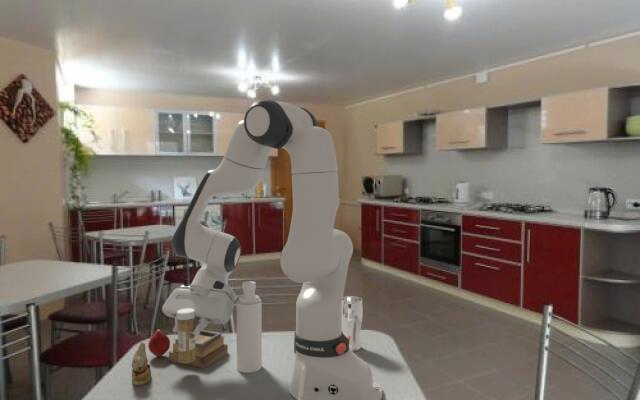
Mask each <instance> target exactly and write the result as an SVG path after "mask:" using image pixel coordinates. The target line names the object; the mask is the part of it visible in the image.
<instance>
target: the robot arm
mask: <svg viewBox="0 0 640 400" xmlns="http://www.w3.org/2000/svg"><path fill="white" fill-rule="evenodd" d="M318 123H319V122H318V120H317V118H316V117H315V115H314V114H312V113H311V112H310V111H309V110H308V109H306V108H304V107H300V106H299V107H298V106H297V105H293V104H291V103H289V102H285V101H284V102H283V101H275V100H271V99H264V100H263V99H262V100H258V101H255V102H253V103H252V104H251V105H250V106H249V107H247V110H246V112H245V115H244V118H243V120H240V121H238V123H236V126H235V128H234V129H233V131H232V133H231V135H230V138H229V140H228V142H227V146H226V148H225V151H224V154H223V157H222V161H221V162H220V164H219V165H218V166H217V167H216V168H215V169H210V170H208V171H207V172H206V174H204V176H203V178H202V179H201V181H200V183H199V185H198V186H197V189H196V190H195V192H194V194H193V196H192V198H191V201H190V203H189V205H188V206H187V208H186V211H185V212H184V215H183V217H182V219H181V221H180V222H179V225H178V226H177V227H176V229H175V231H174V233H173V235H172V237H171V243H170V244H171V247H172V249H173V251H174V253H175V254H176V256H177V257H181V258H184V259H189V260H194V261H196V262H199V263H202V265H201V267H200V268H199V269H198V270H197V272H196V274H195V276H194V277H193V280H192V281H191V284H190V285H188V286H186V285H180V286H178V287H175V288H174V290H173V291H172V292H171V293H170V295H169V296H168V298H167V299H166V301H165V302H164V304H163V305H162V313H163V314H164V315H166V317H168V318H174V327H173V328H172V332H173V333H174V334H175V335H176V334H177V335H178V320H177V311H178V310H181V309H186V308H191V309H194V310H195V317H194V322H195V321H196V322H199V323H198V324H197V326H195V328H194V327H193V328H192V331H191V332H190V334H191V335H192V336H195V337H198V335H199V333H200V331H202V330H205V328H206V327H207V326H208V325H209V323H211V324H217V325H218V324H219V325H226V324H227V323H228V322H229V321H230V320H231V319H230V318H231V316H232V315H233V311H234V308H235V303H234V302H235V301H237V299H238V298H237V295H236V293H235V291H234V290H233V288H232V287H231V286H229V284H228V283H227V282H228V281H227V280H228V278H229V276H230V275H232V272H233V271H234V270H235V269H236V267H237V265H238V263H239V260H240V258H241V255H242V250H243V249H242V246H241V244H240V241H239V239H238V238H237V237H236V236H234V235H231V234H230V233H226V232H223V231H219V230H218V229H214V228H211V227H208V226H206V225H203V224H202V223H201V220H202V217H203V215H204V213H205V211H206V209H207V207H208V205H209V203H210V201H211V200H212V198H213V197H216V196H223V195H224V196H225V195H241V194H247V193H248V192H251V191H253V190H254V189H255V188H257V187H258V186H259V184H260V182H261V180H262V178H263V175H264V172H265V170H266V169H265V168H266V166H267V161H268V159H269V156H270V153H271V152H272V151H273V150H274V149H276V150H280V149H284V150H285V151H286V152H287V153H288V155H289V159H290V165H291V167H290V168H291V169H290V170H291V172H290V173H291V187H292V188H291V189H292V191H291V192H292V214H291V220H290V226H289V230H288V231H289V233H288V236H287V240H286V243H285V245H284V247H283V248H282V251H281V253H280V257H279V259H280V260H279V261H280V262H279V263H280V268H281V269H282V272H283V274H284V275H285V276H286V278H288V279H289V280H290V281H292V282H294V283H297V284H302V285H301V286H302V287H301V290H300V292H299V294H298V296H297V299H296V303H295V305H296V306H295V307H296V308H295V312H296V313H295V317H296V318H295V320H296V321H295V322H296V323H295V331H294V337H293V351H294V355H295V357H294V364H293V365H294V366H293V373H292V376H291V382H290V385H289V388H288V390H289V393H290V395H291V397H293V399H295V400H382V398H383V388H382V386H381V384H379V383H378V382H375V381H374V380H373V372H372V370H371V367H370V365H369V364H368V363H366V362H365V361H364V360H363V359H362V358H360V357H359V356H358V355H357V354H356V353H354V351H351V350H350V349H349V342H350V341H351V339H350V338H351V336H349V337H348V338H347V337H346V336H345V335H344V334H343V332H342V300H343V297H344V291H345V287H346V281H347V276H348V270H349V264H350V261H351V259H352V256H353V253H354V245H353V241H352V239H351V237H350V236H349V234H347V233H346V232H345V231H343V230H341V229H338V228H337V229H336V228H335V220H336V215H337V213H338V210H339V207H340V191H339V190H340V189H339V173H338V170H339V169H338V162H337V160H338V159H337V154H336V150H335V143H334V140H333V137H332V135H331V133H330V132H329V131H328V130H327V129H326V128H323V127H320V126H319V124H318Z"/></svg>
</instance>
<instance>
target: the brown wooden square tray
mask: <svg viewBox="0 0 640 400" xmlns="http://www.w3.org/2000/svg"><path fill="white" fill-rule="evenodd" d="M224 338H225V336H224V335H222V333H221V332H217V331H209V330H205V329H203V330H202V331H200V333H199V335H198V337H195V356H196V359H195V361H193V362H191V363H182V364H183V365H188V366H192V367H193V366H194V367H198V368H202V369H204V368H207V367H208V366H210V365H211V364H213V363H214V362H216V361H218V360H219V359H221V358H222V357H224V356H225V355H227V354H228V352H229V351H228V347H229V346H228V344H227V343H225V341H224V340H225V339H224ZM174 340H175V342H173V343H172V350H170V351H168V360H169V361H170V362H173V363H178V364H181V363H180V362H179V361H178V359H179V350H178V337H177V338H175V339H174Z"/></svg>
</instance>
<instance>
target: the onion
mask: <svg viewBox="0 0 640 400" xmlns="http://www.w3.org/2000/svg"><path fill="white" fill-rule="evenodd" d="M170 346H171V341H170V338H169V336H167V334H166V333H164V332H162V331H161V330H160V329H156V332H155V333H154V334H153V335H152V336H151V337H150V339H149V342H148V346H147V348H148V350H149V352H150V353H151V354H152V355H154V356H155V357H156V358H161V357H162V356H164V355H165V354H166V353H167V352H169V349H170V348H171V347H170Z"/></svg>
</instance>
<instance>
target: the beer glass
mask: <svg viewBox="0 0 640 400" xmlns="http://www.w3.org/2000/svg"><path fill="white" fill-rule="evenodd" d="M363 310H364V309H363V299H362V298H361V297H360V296H355V295H347V296H343V300H342V332H343V334H344V335H345V336H346V337H347V338H348V337H349V336H351V338H350V339H351V341H350V342H349V349H350V350H351V351H352V352H357V351H360V350H361V348H362V346H361V338H360V336H361V329H362V323H363V313H364V312H363Z"/></svg>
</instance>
